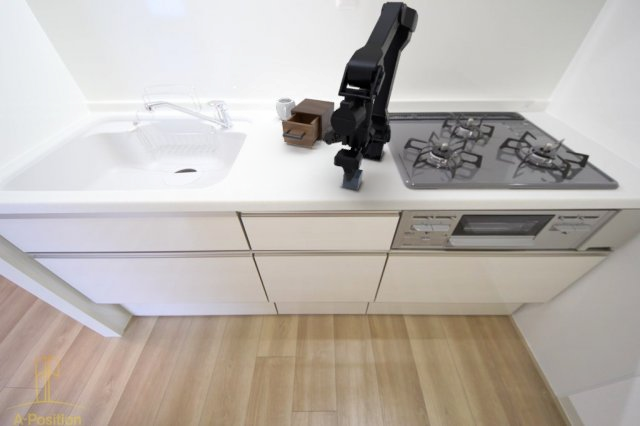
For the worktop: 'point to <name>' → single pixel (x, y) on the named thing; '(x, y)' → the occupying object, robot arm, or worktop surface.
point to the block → (353, 181)
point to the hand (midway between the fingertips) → (353, 172)
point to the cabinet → (316, 112)
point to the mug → (285, 107)
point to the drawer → (301, 129)
